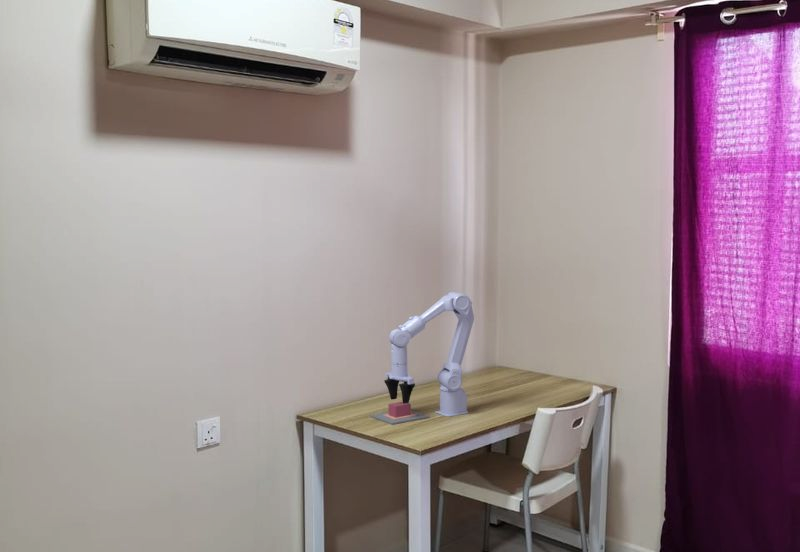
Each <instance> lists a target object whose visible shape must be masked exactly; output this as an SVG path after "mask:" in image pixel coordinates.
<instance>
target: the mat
mask: <svg viewBox="0 0 800 552" xmlns="http://www.w3.org/2000/svg"><path fill="white" fill-rule="evenodd" d="M369 417H370V418H372V419H375V420H378V421H381V422H383V423H386V424H388V425H393V426H394V425H398V424H404V423H408V422H409V423H410V422H415V421H420V420H426V419H430V415H427V414H423V413H421V412H419V411H415V410H413V409H411V415H407V416H402V417H396V418H395V417H392V416H390V415H389V414H388V411H385V412H380V413H374V414H370V415H369Z"/></svg>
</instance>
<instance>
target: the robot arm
mask: <svg viewBox="0 0 800 552" xmlns="http://www.w3.org/2000/svg"><path fill="white" fill-rule="evenodd" d="M443 312H453V313H454V314H455V316H456V318H457V319H458V321H457V324H456V327H455V332H454V334H453V339H452V343H451V345H450V350H449V353H448V356H447V360H446V362H445V363H444V364H443V366H442V369H441V370H440V371H439V372H438V374H437V381H438V383H439V384H440V387H439V410H436V411H434V413H435V414H438V415H442V416H444V417H447V418H448V417H455V416H460V415H465V414H469V411H468V409H467V406H468V403H467V400H468V396H467V392H466V390H465V389H464V388H463V387H462V384H463V378H462V376H463V368H462V363H463V360H464V356H465V353H466V350H467V345H468V343H469V339H470V335H471V331H472V328H473V324H474V320H475V315H474V311H473V302H472V300H471V299H470V298H469V296H468V295H467V294H465V293H460V292H457V291H450V292H449V293H447V294H446V295H443V296H442V297H441V298H440V299H439V300H438V301H437V302H434V304H433V305H432V306H431V307H428V309H427V310H426V311H424V312H423V313H422V314H421V315H414V316H409V317H408V320H407V321H406V322H404V323H403V324H400V325H398V328H394V329H393V330H391V332H390V334H389V335H388V341H389V342H390V349H391V350H390V362H391V364H390V365H391V366H390V367H391V368H390V369H391V370H390V371H388V372H385V378H386V379H384V380H383V382H384V383H385V386H386V387H387V390H388V393H389V397H390V400H396V399H397V398H398V389H399V388H400V391H401V400H402V401H401V402H403V403H404V404H405V403H410V400H411V399H410V398H411V395H412V392H413V390H414V388H415V386H416V383H414V381H415V380H414V378H413V377H411V376H410V375H408V347H407V346H408V345H409V343H410V340H412V339H413V338H414V337H416V336H417V335H418V334H419V333H421V332H422V331H424V330H425V327H426V325H427V323H429V322H430V321H431V320H433V319H435V318H436V317H437V316H439V315H441V314H442V313H443ZM400 382H401V383H400Z"/></svg>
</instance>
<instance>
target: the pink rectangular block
mask: <svg viewBox="0 0 800 552" xmlns="http://www.w3.org/2000/svg"><path fill="white" fill-rule="evenodd" d="M411 405H412V403H410V402H409V403H405V404H404V403H403V401H397V402H394V403H393V402H392V403H388V406H387V407H388V411H387V412H388V414H389V415H390V416H392V417H395V418H396V417H402V416H407V415H411V410H412V406H411Z"/></svg>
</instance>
